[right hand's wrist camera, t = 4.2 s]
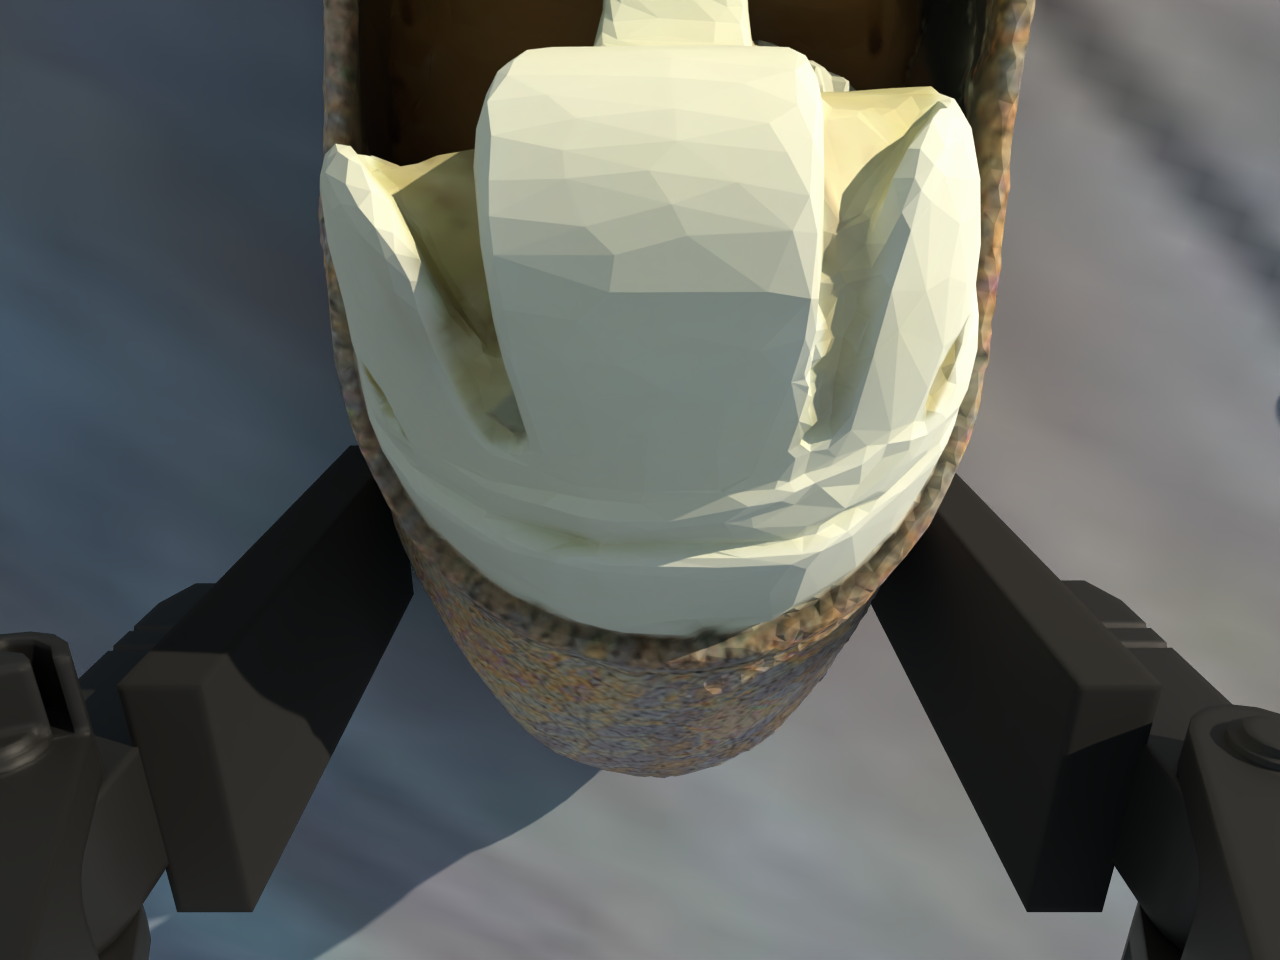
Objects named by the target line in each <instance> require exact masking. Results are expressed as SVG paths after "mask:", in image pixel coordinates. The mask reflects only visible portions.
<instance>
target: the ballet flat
mask: <svg viewBox="0 0 1280 960" xmlns="http://www.w3.org/2000/svg"><path fill="white" fill-rule="evenodd" d="M323 5H324V15H323V27H324V35H323V40H324V77H323V98H324V129H323V165H322V170H321V174H320V198H319V209H318V217H319V226H320V243H321V246H322V248H323V251H324V267H325V271H326V280H327V290H328V299H329V310H330V322H331V335H332V345H333V350H334V361H335V366H336V370H337V374H338V379H339V383H340V388H341V392H342V396H343V399H344V403H345V406H346V410H347V413H348V417H349V420H350V423H351V426H352V429H353V432H354V435H355V438H356V440H357V443H358V445H359V448H360V450H361V452H362V454H363V456H364V458H365V460H366V462H367V464H368V466H369V468H370V471H371V473H372V475H373V477H374V479H375V481H376V482H377V484H378V486H379V488H380V490H381V492H382V494H383V496H384V498H385V500H386V502H387V504H388V506H389V507H390V509H391V512H392V516H393V521H394V525H395V527H396V530H397V532H398V535H399V537H400V540H401V542H402V545H403V547H404V549H405V551H406V553H407V555H408V557H409V559H410V561H411V564H412V566H413V568H414V570H415V572H416V576H417V577H418V579H419V580H420V582H421V584H422V586H423V587H424V589H425V591H426V592H427V594H428V595H429V596H430V597H431V600H432V602H433V604H434V606H435V607H436V608H437V610H438V612H439V614H440V616H441V618H442V620H443V622H444V623H445V624H446V626H447V628H448V630H449V632H450V634H451V636H452V638H453V640H454V642H455V643H456V644H457V645H458V646H459V647H460V649H461V650H462V652H463V653H464V655H465V656H466V658H467V659H468V661H469V662H470V664H471V665H472V667H473V668H474V670H475V671H476V672H477V673H478V675H479V676H480V677H481V679H482V680H483V681H484V683H485V684H486V685H487V686H488V688H489V689H490V690H491V691H492V693H493V694H494V695H495V697H496V698H497V699H498V700H499V701H500V703H501V704H502V705H503V706H504V707H505V708H506V709H507V711H508V712H509V713H510V715H511V716H512V717H513V718H514V720H515V721H516V722H517V723H518V724H519V725H520V726H522V727H523V728H524V729H525V730H526V731H527V732H528V733H529V734H531V735H532V736H533V737H534V738H535V739H537V740H538V741H539V742H541V743H542V744H543V745H544V746H545V747H548V748H549V749H551V750H552V751H554V752H556V753H557V754H560V755H562V756H564V757H567V758H569V759H572V760H574V761H577V762H580V763H583V764H586V765H590V766H593V767H596V768H600V769H603V770H607V771H613V772H619V773H624V774H628V775H633V776H643V777H647V776H653V777H661V778H665V777H669V776H679V775H684V774H688V773H692V772H695V771H699V770H702V769H705V768H709V767H713V766H718V765H721V764H722V763H724V762H725V761H727V760H729V759H731V758H734V757H736V756H737V755H739V754H741V753H742V752H745V751H749V750H751V749H752V748H753V747H755V746H756V745H758V744H759V743H761V742H762V741H764V740H765V739H766V738H767V737H769V736H770V735H771V734H773V733H774V732H775V731H776V730H777V729H778V728H779V727H780V726H781V725H782V724H783V723H784V722H785V720H786V719H787V718H788V717H789V715H790V714H791V713H792V712H793V711H794V710H796V708H797V707H798V706H799V705H800V703H801V702H802V701H803V700H804V699H805V698H806V696H807V695H808V694H809V693H810V692H811V691H812V689H813V688H814V686H815V685H816V684H817V683H818V682H820V681H821V680H822V678H823V677H824V676H825V675H826V673H827V670H828V669H829V668H830V666H831V665H832V663H833V661H834V659H835V657H836V655H837V654H838V653H839V652H840V650H841V649H842V648H843V646H844V644H845V643H846V642H847V641H849V638H850V637H851V635H852V634H853V632H854V631H855V629H856V628H857V626H858V624H859V622H860V620H861V619H862V618H863V617H864V615H865V614H866V613H867V611H868V608H869V606H870V604H871V601H872V599H874V598H875V596H876V594H877V592H878V590H879V588H880V586H881V584H882V583H883V582H884V581H885V580H886V579H887V577H888V576H889V575H890V574H891V573H892V571H893V570H894V569H895V568H896V567H897V566H898V565H899V564H900V562H901V561H902V560H903V559H904V558H905V557H906V555H907V554H908V553H909V552H910V550H911V549H912V548H913V547H914V545H915V544H916V543H917V541H918V540H919V539H920V537H921V536H922V535H923V533H924V532H925V531H926V530H927V528H928V527H929V525H930V523H931V521H932V519H933V518H934V516H935V514H936V512H937V510H938V508H939V506H940V504H941V502H942V500H943V498H944V496H945V494H946V492H947V490H948V488H949V486H950V484H951V481H952V479H953V477H954V475H955V472H956V470H957V468H958V465H959V463H960V461H961V459H962V456H963V454H964V452H965V449H966V447H967V445H968V442H969V440H970V438H971V434H972V431H973V428H974V424H975V421H976V418H977V413H978V409H979V405H980V400H981V393H982V385H983V379H984V372H985V370H986V367H987V365H988V363H989V352H990V340H991V334H992V327H991V320H992V317H993V313H994V310H995V303H996V293H997V285H998V280H999V275H1000V270H1001V245H1002V238H1003V231H1004V224H1005V215H1006V205H1007V197H1008V194H1009V190H1010V169H1009V168H1010V153H1011V143H1012V136H1013V129H1014V122H1015V116H1016V111H1017V105H1018V98H1019V90H1020V84H1021V79H1022V74H1023V66H1024V57H1025V53H1026V50H1027V46H1028V43H1029V32H1030V25H1031V22H1032V18H1033V15H1034V10H1035V0H323Z"/></svg>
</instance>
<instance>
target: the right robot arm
mask: <svg viewBox="0 0 1280 960" xmlns="http://www.w3.org/2000/svg"><path fill="white" fill-rule="evenodd" d="M413 594H414V593H413V584H412V575H411V566H410V559H409V557H408V555H407V553H406V551H405V549H404V547H403V545H402V542H401V540H400V537H399V535H398V532H397V530H396V527H395V525H394V521H393V516H392V512H391V509H390V507H389V506H388V504H387V502H386V500H385V498H384V496H383V494H382V492H381V490H380V488H379V486H378V484H377V482H376V481H375V479H374V477H373V475H372V473H371V471H370V468H369V466H368V464H367V462H366V460H365V458H364V456H363V454H362V452H361V450H360V448H359V446H349V448H348V449H347V450H346V451H345V452H344V453H343V454H342V455H341V456H340V457H339V458H338V459H337V460H336V461H335V462H334V463H333V464H332V465H331V466H330V467H329V468H328V469H327V470H326V471H325V472H324V473H323V474H322V475H321V476H320V477H319V478H318V479H317V480H316V481H315V482H314V483H313V484H312V485H311V486H310V487H309V489H308V490H307V491H306V492H305V493H304V494H303V495H302V496H301V497H300V498H299V499H298V500H297V501H296V502H295V503H294V504H293V505H292V506H291V507H290V508H289V509H288V510H287V511H286V512H285V513H284V514H283V515H282V516H281V517H280V518H279V519H278V520H277V521H276V522H275V523H274V524H273V525H272V526H271V527H270V528H269V530H268V531H267V532H266V533H265V534H264V535H263V536H262V537H261V538H260V539H259V540H258V541H257V542H256V543H255V544H254V545H253V546H252V547H251V548H250V549H249V550H248V551H247V552H246V553H245V554H244V555H243V556H242V557H241V558H240V559H239V560H238V561H237V562H236V563H235V564H234V565H233V566H232V567H231V568H230V569H229V571H228V572H227V573H226V574H225V575H224V576H223V577H222V578H221V579H220V580H219V581H218V582H217V583H196V584H194V585H192V586H190V587H188V588H186V589H184V590H183V591H181V592H179V593H177V594H175V595H173V596H171V597H170V598H168V599H166V600H164V601H162V602H160V603H159V604H157V605H156V606H155V607H154V608H153V609H152V610H151V611H150V612H149V613H148V614H147V615H146V616H145V617H144V618H143V619H142V620H141V621H139V622H138V623H137V624H136V625H135V626H134V631H129V632H128V633H127V634H126V635H125V636H124V637H123V638H121V639H120V640H119V641H118V642H117V643H116V644H115V645H114V649H113V651H108V652H107V653H106V654H105V655H103V656H102V657H101V658H100V659H99V660H98V661H97V662H96V663H95V664H94V665H93V666H92V667H91V668H90V669H89V670H88V671H87V672H85V673H84V674H83V675H82V676H81V677H80V678H79V679H78V677H77V673H76V670H75V667H74V663H73V660H72V656H71V653H70V649H69V646H68V643H67V642H66V641H64V640H63V639H61V638H59V637H58V636H56V635H54V634H47V633H38V632H22V633H11V634H1V635H0V960H148V958H149V950H150V943H151V937H150V931H149V925H148V920H147V917H146V914H145V910H144V907H143V903H144V901H145V900H146V898H147V897H148V895H149V894H150V892H151V891H152V889H153V888H154V886H155V884H156V883H157V881H158V880H159V878H160V877H161V875H162V874H163V872H164V871H165V869H166V872H167V875H168V879H169V883H170V886H171V890H172V894H173V898H174V901H175V905H176V909H177V912H253V910H254V908H255V906H256V904H257V902H258V900H259V898H260V896H261V894H262V892H263V890H264V888H265V886H266V884H267V882H268V880H269V878H270V876H271V874H272V872H273V870H274V868H275V866H276V864H277V862H278V860H279V858H280V856H281V854H282V852H283V850H284V849H285V847H286V845H287V843H288V841H289V839H290V837H291V835H292V833H293V831H294V829H295V827H296V825H297V823H298V821H299V819H300V817H301V815H302V813H303V811H304V809H305V807H306V805H307V803H308V801H309V799H310V797H311V795H312V793H313V791H314V789H315V787H316V785H317V783H318V782H319V780H320V778H321V776H322V774H323V772H324V770H325V768H326V766H327V764H328V762H329V760H330V758H331V756H332V754H333V752H334V750H335V748H336V746H337V744H338V742H339V740H340V738H341V736H342V734H343V732H344V730H345V728H346V726H347V724H348V722H349V720H350V718H351V716H352V715H353V713H354V711H355V709H356V707H357V705H358V703H359V701H360V699H361V697H362V695H363V693H364V691H365V689H366V687H367V685H368V683H369V681H370V679H371V677H372V675H373V673H374V671H375V669H376V667H377V665H378V663H379V661H380V659H381V657H382V655H383V653H384V651H385V649H386V648H387V646H388V644H389V642H390V640H391V638H392V636H393V634H394V632H395V630H396V628H397V626H398V624H399V622H400V620H401V618H402V616H403V614H404V612H405V610H406V608H407V606H408V604H409V602H410V600H411V598H412V596H413ZM871 605H872V607H873V609H874V611H875V613H876V615H877V617H878V619H879V621H880V623H881V625H882V627H883V629H884V631H885V633H886V635H887V637H888V639H889V641H890V643H891V645H892V647H893V649H894V651H895V653H896V655H897V657H898V658H899V660H900V662H901V664H902V666H903V668H904V670H905V672H906V674H907V676H908V678H909V680H910V682H911V684H912V686H913V688H914V690H915V692H916V694H917V696H918V698H919V700H920V702H921V704H922V706H923V708H924V710H925V712H926V714H927V716H928V718H929V720H930V722H931V724H932V726H933V727H934V729H935V731H936V733H937V735H938V737H939V739H940V741H941V743H942V745H943V747H944V749H945V751H946V753H947V755H948V757H949V759H950V761H951V763H952V765H953V767H954V769H955V771H956V773H957V775H958V777H959V779H960V781H961V783H962V785H963V787H964V789H965V791H966V793H967V794H968V796H969V798H970V800H971V802H972V804H973V806H974V808H975V810H976V812H977V814H978V816H979V818H980V820H981V822H982V824H983V826H984V828H985V830H986V832H987V834H988V836H989V838H990V840H991V842H992V844H993V846H994V848H995V850H996V852H997V854H998V856H999V858H1000V860H1001V862H1002V863H1003V865H1004V867H1005V869H1006V871H1007V873H1008V875H1009V877H1010V879H1011V881H1012V883H1013V885H1014V887H1015V889H1016V891H1017V893H1018V895H1019V897H1020V899H1021V901H1022V903H1023V905H1024V907H1025V909H1026V911H1027V912H1102V910H1103V906H1104V903H1105V899H1106V895H1107V891H1108V888H1109V884H1110V880H1111V876H1112V873H1113V869H1114V866H1115V867H1116V869H1117V870H1118V872H1119V873H1120V875H1121V876H1122V878H1123V879H1124V881H1125V882H1126V884H1127V885H1128V887H1129V888H1130V890H1131V891H1132V893H1133V894H1134V896H1135V897H1136V899H1137V900H1138V903H1137V907H1136V910H1135V914H1134V917H1133V920H1132V924H1131V927H1130V931H1129V934H1128V938H1127V941H1126V945H1125V948H1124V952H1123V955H1122V959H1121V960H1280V714H1278V713H1275V712H1271V711H1268V710H1264V709H1261V708H1257V707H1249V706H1240V705H1232V704H1231V703H1230V702H1229V701H1228V700H1227V699H1226V698H1225V697H1224V696H1223V695H1222V694H1221V693H1220V692H1219V691H1217V690H1216V689H1215V688H1214V687H1213V686H1212V685H1211V684H1210V683H1209V682H1208V681H1207V680H1206V679H1205V678H1204V677H1203V676H1201V675H1200V674H1199V673H1198V672H1197V671H1196V670H1195V669H1194V668H1193V667H1192V666H1191V665H1190V664H1189V663H1188V662H1187V661H1185V660H1184V659H1183V658H1182V657H1181V656H1180V655H1179V654H1178V653H1177V652H1176V651H1175V650H1174V649H1173V648H1167V645H1166V644H1167V643H1166V642H1165V641H1164V640H1163V639H1162V638H1161V637H1160V636H1159V635H1158V634H1157V633H1156V632H1155V631H1153V630H1152V629H1151V628H1146V623H1145V622H1144V621H1143V620H1142V619H1141V618H1140V617H1139V616H1137V615H1136V614H1135V613H1134V612H1133V611H1132V610H1131V609H1130V608H1129V607H1128V606H1127V605H1126V604H1125V603H1124V602H1123V601H1121V600H1120V599H1118V598H1116V597H1114V596H1112V595H1110V594H1108V593H1107V592H1105V591H1103V590H1101V589H1099V588H1097V587H1095V586H1094V585H1092V584H1090V583H1088V582H1086V581H1061V580H1060V579H1059V578H1058V577H1057V576H1056V575H1055V574H1054V573H1053V572H1052V571H1051V570H1050V569H1049V568H1048V567H1047V566H1046V565H1045V564H1044V563H1043V562H1042V561H1041V560H1040V559H1039V558H1038V557H1037V556H1036V555H1035V554H1034V553H1033V552H1032V551H1031V550H1030V549H1029V548H1028V547H1027V546H1026V544H1025V543H1024V542H1023V541H1022V540H1021V539H1020V538H1019V537H1018V536H1017V535H1016V534H1015V533H1014V532H1013V531H1012V530H1011V529H1010V528H1009V527H1008V526H1007V525H1006V524H1005V523H1004V522H1003V521H1002V520H1001V519H1000V518H999V517H998V516H997V515H996V514H995V513H994V512H993V511H992V510H991V509H990V508H989V507H988V506H987V505H986V503H985V502H984V501H983V500H982V499H981V498H980V497H979V496H978V495H977V494H976V493H975V492H974V491H973V490H972V489H971V488H970V487H969V486H968V485H967V484H966V483H965V482H964V481H963V480H962V479H961V478H960V477H959V476H958V475H957V474H956V473H955V475H954V477H953V479H952V481H951V484H950V486H949V488H948V490H947V492H946V494H945V496H944V498H943V500H942V502H941V504H940V506H939V508H938V510H937V512H936V514H935V516H934V518H933V519H932V521H931V523H930V525H929V527H928V528H927V530H926V531H925V532H924V533H923V535H922V536H921V537H920V539H919V540H918V541H917V543H916V544H915V545H914V547H913V548H912V549H911V550H910V552H909V553H908V554H907V555H906V557H905V558H904V559H903V560H902V561H901V562H900V564H899V565H898V566H897V567H896V568H895V569H894V570H893V571H892V573H891V574H890V575H889V576H888V577H887V579H886V580H885V581H884V582H883V583H882V584H881V586H880V588H879V590H878V592H877V594H876V596H875V598H874V599H872V601H871Z"/></svg>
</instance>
